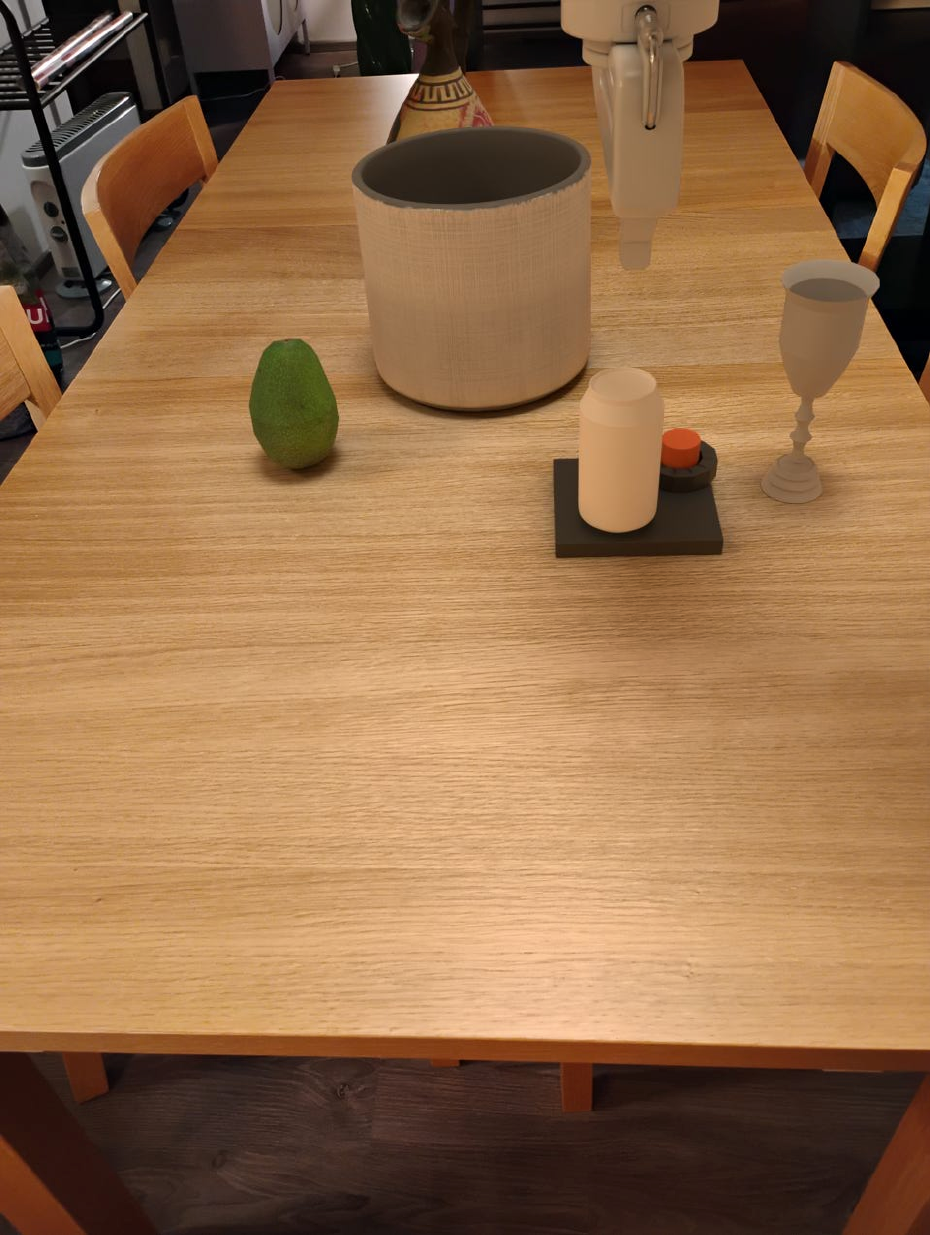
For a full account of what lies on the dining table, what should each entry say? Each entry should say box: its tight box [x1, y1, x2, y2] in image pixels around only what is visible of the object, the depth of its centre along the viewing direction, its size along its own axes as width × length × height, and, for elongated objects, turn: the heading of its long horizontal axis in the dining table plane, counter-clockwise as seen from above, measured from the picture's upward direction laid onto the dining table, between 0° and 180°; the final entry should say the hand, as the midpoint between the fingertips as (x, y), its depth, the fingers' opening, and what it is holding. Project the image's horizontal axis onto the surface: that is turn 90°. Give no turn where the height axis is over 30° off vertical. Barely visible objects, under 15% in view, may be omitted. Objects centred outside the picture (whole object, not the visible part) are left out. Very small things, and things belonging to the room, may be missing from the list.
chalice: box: [760, 258, 880, 504], centre depth 78 cm, size 7×7×18 cm
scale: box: [552, 439, 725, 558], centre depth 82 cm, size 14×12×3 cm
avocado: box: [248, 338, 340, 470], centre depth 88 cm, size 8×8×12 cm
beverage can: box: [578, 366, 666, 533], centre depth 76 cm, size 6×6×12 cm
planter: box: [351, 125, 592, 413], centre depth 96 cm, size 22×22×20 cm
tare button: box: [661, 428, 702, 469], centre depth 83 cm, size 3×3×2 cm
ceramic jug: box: [385, 0, 495, 145], centre depth 117 cm, size 17×15×30 cm
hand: (628, 235), depth 65 cm, fingers open, 8 cm apart
